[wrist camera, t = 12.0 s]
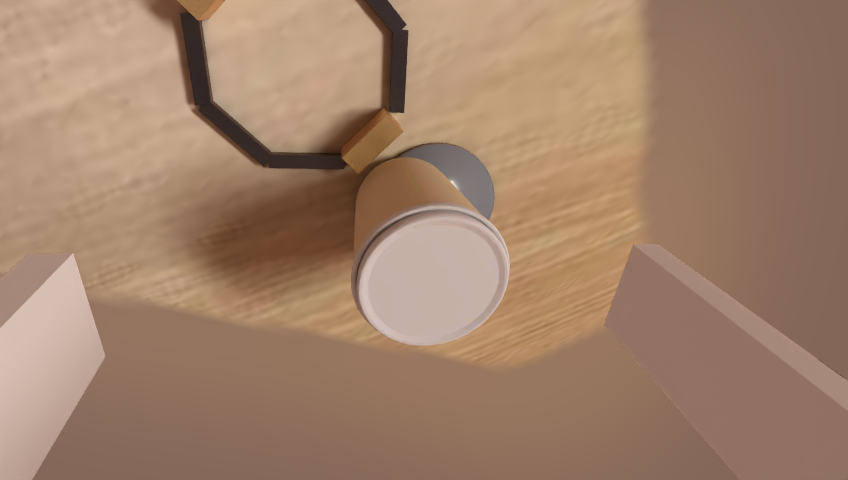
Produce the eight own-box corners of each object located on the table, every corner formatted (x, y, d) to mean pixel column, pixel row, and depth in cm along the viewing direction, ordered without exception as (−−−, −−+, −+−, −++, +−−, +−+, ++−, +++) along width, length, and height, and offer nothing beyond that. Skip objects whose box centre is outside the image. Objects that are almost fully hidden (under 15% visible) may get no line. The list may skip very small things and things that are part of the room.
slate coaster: (372, 256, 38) (372, 259, 37) (375, 141, 33) (375, 143, 32) (483, 253, 40) (485, 256, 39) (500, 143, 35) (502, 146, 34)
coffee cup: (430, 266, 38) (467, 363, 28) (328, 234, 35) (327, 330, 25) (480, 171, 35) (544, 242, 25) (372, 126, 32) (392, 186, 21)
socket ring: (207, 164, 31) (198, 176, 29) (169, -71, 25) (154, -79, 23) (400, 167, 34) (404, 178, 32) (410, -45, 28) (417, -49, 26)
